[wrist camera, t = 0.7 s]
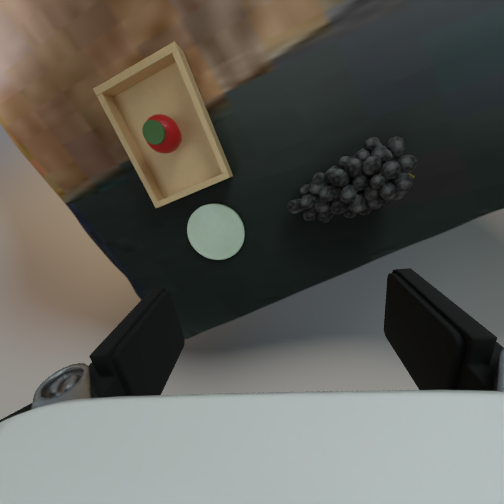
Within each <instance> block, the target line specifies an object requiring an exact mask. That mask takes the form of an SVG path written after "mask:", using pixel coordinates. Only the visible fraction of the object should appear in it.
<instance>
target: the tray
mask: <svg viewBox="0 0 504 504" xmlns="http://www.w3.org/2000/svg"><path fill="white" fill-rule="evenodd" d="M93 90H94V92H95V94H96V96H97V98H98V99H99V101H100V103H101V105H102V107H103V109H104V111H105V113H106V115H107V116H108V118H109V120H110V122H111V124H112V126H113V128H114V130H115V132H116V134H117V135H118V137H119V139H120V141H121V143H122V145H123V147H124V149H125V151H126V152H127V154H128V156H129V158H130V160H131V162H132V164H133V166H134V168H135V170H136V171H137V173H138V175H139V177H140V179H141V181H142V183H143V185H144V187H145V188H146V190H147V192H148V194H149V196H150V198H151V200H152V202H153V204H154V206H155V208H158V207H161V206H163V205H166V204H168V203H170V202H173V201H175V200H177V199H180V198H182V197H185V196H187V195H189V194H192V193H194V192H196V191H199V190H201V189H204V188H206V187H208V186H211V185H213V184H215V183H218V182H220V181H223V180H225V179H227V178H230V177H232V176H233V174H232V172H231V169H230V167H229V164H228V162H227V159H226V157H225V154H224V152H223V149H222V147H221V144H220V142H219V139H218V137H217V134H216V132H215V129H214V127H213V124H212V122H211V119H210V117H209V114H208V112H207V110H206V107H205V105H204V102H203V100H202V97H201V95H200V92H199V90H198V87H197V85H196V82H195V80H194V77H193V75H192V72H191V70H190V67H189V65H188V62H187V60H186V57H185V55H184V52H183V51H182V50H181V49H180V47H179V46H178V45H177V44H176V43H175V42H173V43H171V44H169V45H167V46H166V47H164V48H162V49H161V50H159V51H157V52H155V53H154V54H152V55H150V56H149V57H147V58H145V59H143V60H142V61H140V62H138V63H137V64H135V65H133V66H131V67H130V68H128V69H126V70H124V71H123V72H121V73H119V74H118V75H116V76H114V77H112V78H111V79H109V80H107V81H106V82H104V83H102V84H100V85H99V86H97V87H95V88H94V89H93ZM156 114H162V115H166V116H168V117H170V118H171V119H173V120H174V121H175V122H176V124H177V125H178V127H179V129H180V132H181V135H182V140H181V143H180V145H179V146H178V148H177V149H176V150H175V151H173V152H171V153H166V154H164V153H159V152H157V151H155V150H153V149H152V148H151V147H150V146H149V145H148V144H147V142H146V140H145V138H144V136H143V132H142V128H143V125H144V123H145V122H146V121H147V119H148V118H149V117H151V116H153V115H156Z"/></svg>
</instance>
